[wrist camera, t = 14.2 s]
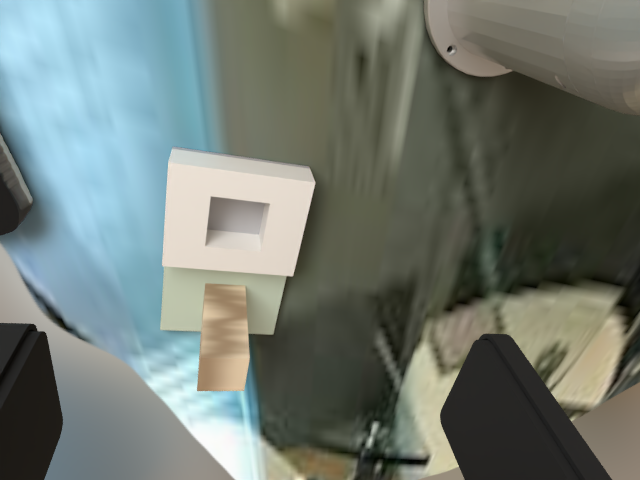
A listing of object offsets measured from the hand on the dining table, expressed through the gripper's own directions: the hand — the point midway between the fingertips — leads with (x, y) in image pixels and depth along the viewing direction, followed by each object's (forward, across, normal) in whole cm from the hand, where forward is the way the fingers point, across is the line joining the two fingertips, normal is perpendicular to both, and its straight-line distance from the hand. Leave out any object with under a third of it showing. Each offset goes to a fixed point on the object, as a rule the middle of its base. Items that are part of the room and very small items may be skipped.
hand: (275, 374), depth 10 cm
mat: (+31, +1, +23) cm, 38 cm away
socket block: (+31, 0, +12) cm, 33 cm away
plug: (+30, +1, +23) cm, 38 cm away
